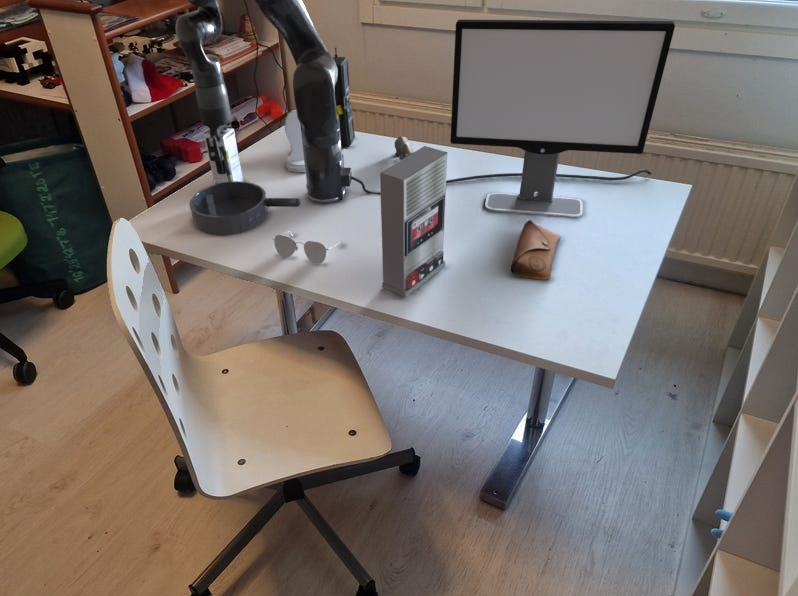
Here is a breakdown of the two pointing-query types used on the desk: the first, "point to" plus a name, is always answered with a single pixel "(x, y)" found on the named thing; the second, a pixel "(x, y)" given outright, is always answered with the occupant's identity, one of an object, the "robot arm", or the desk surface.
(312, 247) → the sunglasses
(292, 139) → the chess piece
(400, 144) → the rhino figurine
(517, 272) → the sunglasses case
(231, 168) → the syrup box
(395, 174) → the cassette tape recorder
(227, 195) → the pan
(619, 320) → the desk surface
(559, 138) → the computer monitor
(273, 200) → the pan handle
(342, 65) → the portable radio
